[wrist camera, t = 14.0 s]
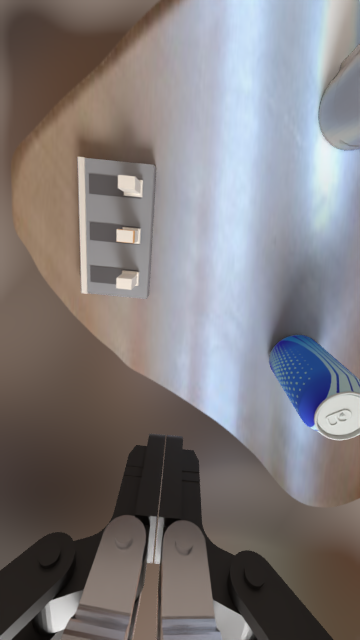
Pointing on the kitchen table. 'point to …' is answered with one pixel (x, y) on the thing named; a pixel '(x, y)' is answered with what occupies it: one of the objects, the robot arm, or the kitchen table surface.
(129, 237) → the breaker toggle
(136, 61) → the kitchen table surface
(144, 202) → the breaker panel
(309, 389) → the beer can
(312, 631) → the robot arm
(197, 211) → the kitchen table surface
